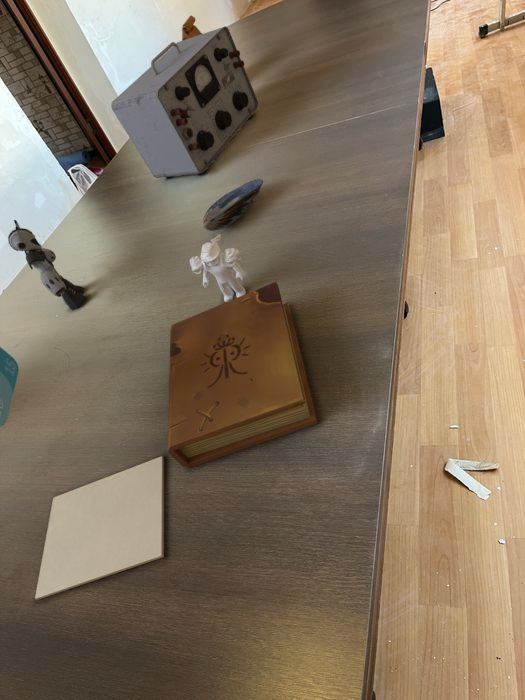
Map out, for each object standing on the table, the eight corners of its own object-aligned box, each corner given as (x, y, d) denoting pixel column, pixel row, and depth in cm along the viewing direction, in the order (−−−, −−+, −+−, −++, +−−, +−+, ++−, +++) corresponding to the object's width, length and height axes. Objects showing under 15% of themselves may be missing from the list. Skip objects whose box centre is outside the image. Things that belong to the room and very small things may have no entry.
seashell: (262, 230, 96) (252, 209, 92) (206, 245, 100) (194, 226, 97) (272, 187, 105) (263, 166, 102) (220, 202, 110) (210, 183, 107)
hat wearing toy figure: (260, 282, 85) (230, 227, 77) (256, 298, 83) (225, 243, 74) (214, 292, 89) (181, 240, 80) (210, 308, 86) (175, 256, 78)
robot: (61, 286, 115) (-3, 217, 101) (79, 274, 115) (17, 204, 102) (74, 327, 100) (1, 253, 87) (94, 313, 101) (24, 237, 87)
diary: (185, 349, 81) (167, 326, 78) (289, 307, 78) (276, 281, 74) (186, 469, 65) (163, 448, 61) (318, 423, 61) (302, 397, 57)
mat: (37, 600, 61) (34, 599, 61) (55, 498, 71) (53, 497, 71) (163, 557, 58) (161, 555, 58) (164, 457, 68) (162, 455, 68)
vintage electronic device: (209, 179, 120) (154, 77, 103) (158, 184, 131) (101, 92, 114) (267, 108, 135) (227, 8, 118) (217, 118, 145) (174, 27, 128)
